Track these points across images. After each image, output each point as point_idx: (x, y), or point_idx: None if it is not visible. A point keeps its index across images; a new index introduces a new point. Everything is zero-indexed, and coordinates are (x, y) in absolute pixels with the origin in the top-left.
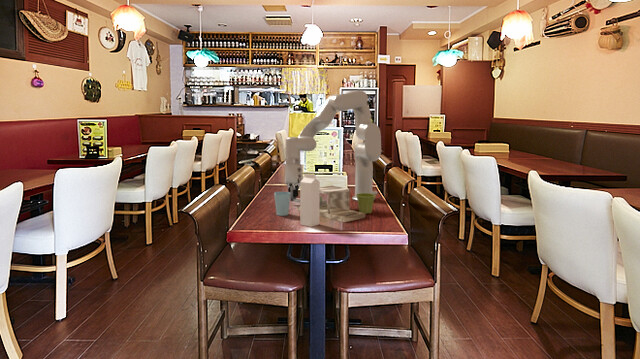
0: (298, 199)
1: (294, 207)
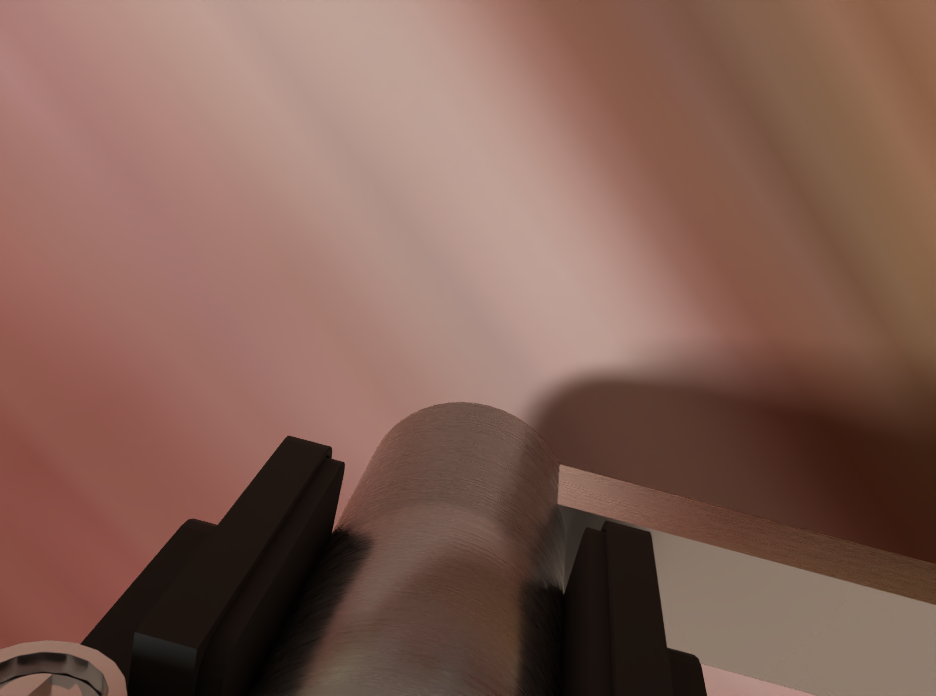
0: (738, 587)
1: (712, 671)
